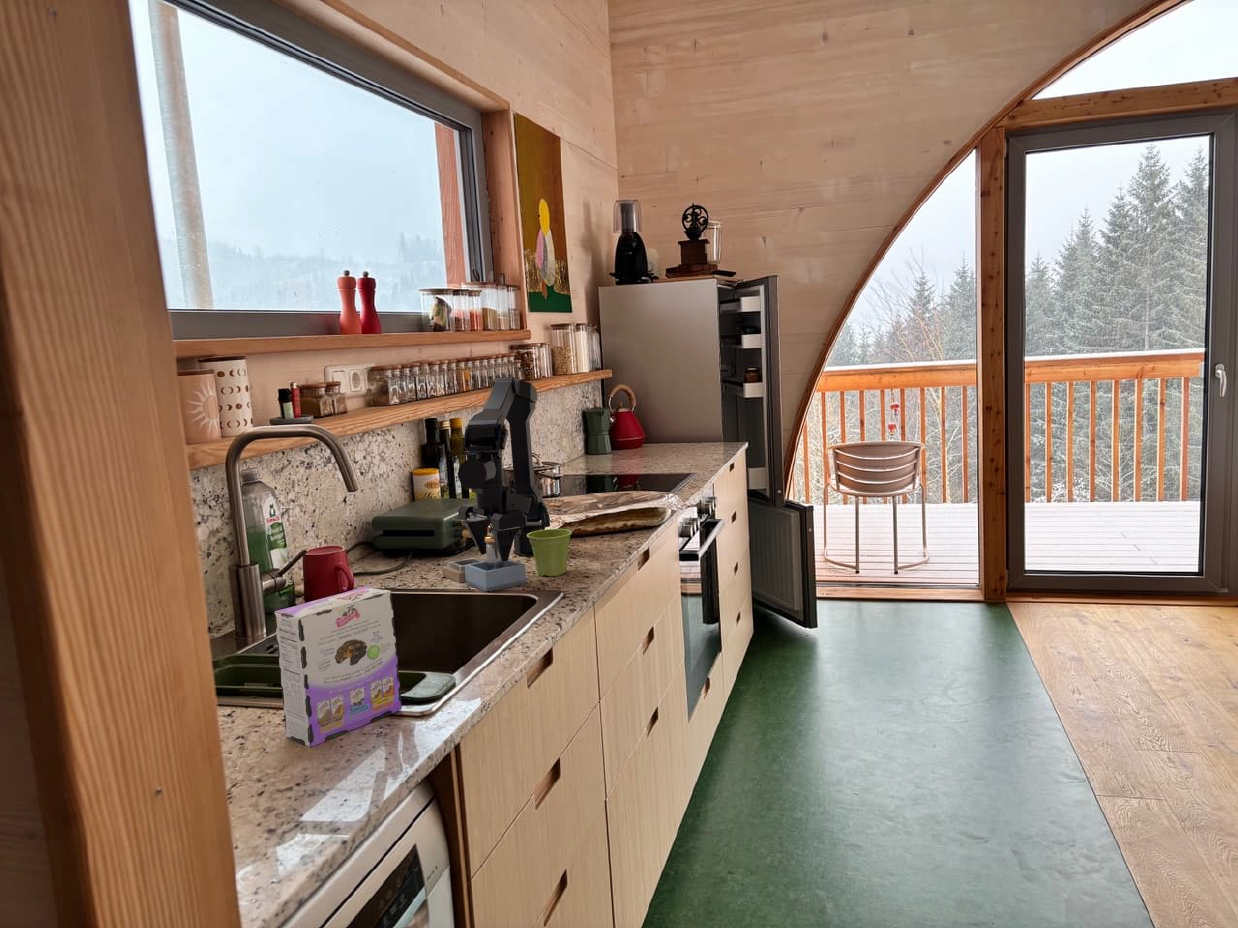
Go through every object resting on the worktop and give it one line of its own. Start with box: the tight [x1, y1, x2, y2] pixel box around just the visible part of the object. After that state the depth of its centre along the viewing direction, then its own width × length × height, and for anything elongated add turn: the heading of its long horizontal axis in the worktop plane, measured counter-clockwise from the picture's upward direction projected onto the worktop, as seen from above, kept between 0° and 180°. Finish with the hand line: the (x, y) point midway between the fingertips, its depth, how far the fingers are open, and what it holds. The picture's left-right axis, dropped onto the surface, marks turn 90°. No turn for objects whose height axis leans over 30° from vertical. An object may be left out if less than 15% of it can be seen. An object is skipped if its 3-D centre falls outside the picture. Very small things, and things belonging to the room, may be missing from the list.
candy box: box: [274, 585, 403, 748], centre depth 117 cm, size 14×6×16 cm, turn 140°
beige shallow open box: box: [441, 557, 484, 583], centre depth 195 cm, size 8×8×3 cm
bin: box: [465, 558, 527, 592], centre depth 187 cm, size 9×9×4 cm
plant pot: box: [527, 528, 573, 577], centre depth 193 cm, size 9×9×9 cm
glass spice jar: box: [485, 534, 503, 571], centre depth 187 cm, size 4×4×9 cm
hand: (494, 557), depth 187 cm, fingers open, 9 cm apart
